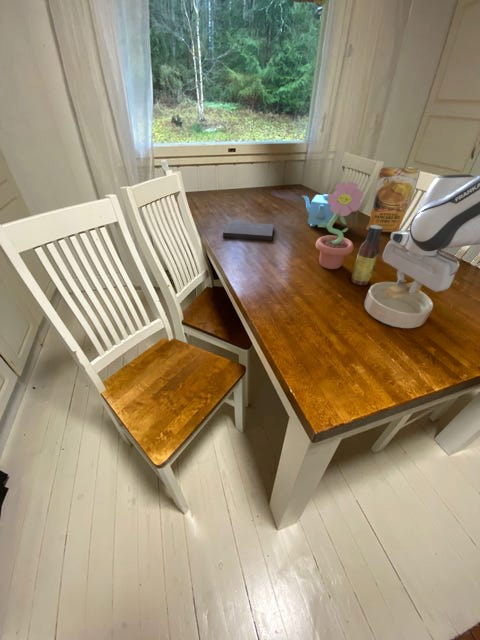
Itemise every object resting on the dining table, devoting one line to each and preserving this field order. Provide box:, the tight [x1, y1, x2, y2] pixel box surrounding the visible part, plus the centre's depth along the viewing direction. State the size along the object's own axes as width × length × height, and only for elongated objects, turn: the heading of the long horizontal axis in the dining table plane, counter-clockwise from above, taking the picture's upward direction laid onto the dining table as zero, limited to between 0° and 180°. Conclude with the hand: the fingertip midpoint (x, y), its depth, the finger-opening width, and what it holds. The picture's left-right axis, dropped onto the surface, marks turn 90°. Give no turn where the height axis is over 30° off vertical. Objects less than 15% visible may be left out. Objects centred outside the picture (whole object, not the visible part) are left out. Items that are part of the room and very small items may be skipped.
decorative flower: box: [315, 181, 363, 270], centre depth 99 cm, size 15×14×30 cm
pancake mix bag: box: [365, 167, 421, 233], centre depth 130 cm, size 7×19×28 cm, turn 85°
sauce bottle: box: [351, 225, 383, 286], centre depth 92 cm, size 7×6×20 cm
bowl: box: [363, 281, 434, 329], centre depth 83 cm, size 17×17×6 cm
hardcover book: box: [222, 221, 275, 241], centre depth 133 cm, size 16×23×2 cm
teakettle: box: [301, 193, 334, 229], centre depth 140 cm, size 19×19×15 cm
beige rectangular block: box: [386, 281, 423, 298], centre depth 79 cm, size 10×2×2 cm, turn 109°
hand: (404, 288), depth 79 cm, fingers closed on beige rectangular block, 2 cm apart
